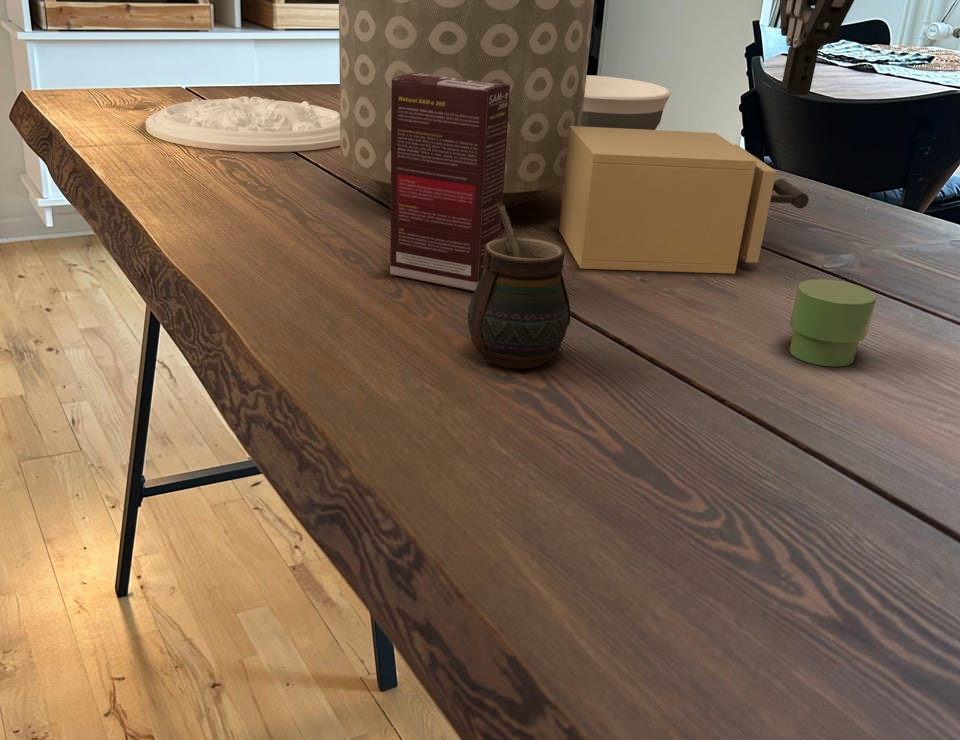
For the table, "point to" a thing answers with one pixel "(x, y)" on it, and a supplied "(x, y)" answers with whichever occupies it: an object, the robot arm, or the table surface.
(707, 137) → the cabinet
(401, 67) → the planter
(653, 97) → the bowl
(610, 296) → the table surface
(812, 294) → the green stepped cylinder
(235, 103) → the ceiling medallion
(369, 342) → the table surface
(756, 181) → the drawer
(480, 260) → the supplement box
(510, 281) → the mate gourd
